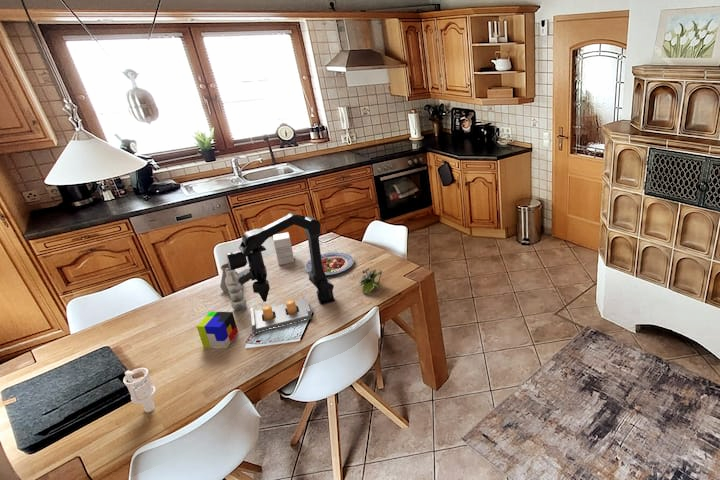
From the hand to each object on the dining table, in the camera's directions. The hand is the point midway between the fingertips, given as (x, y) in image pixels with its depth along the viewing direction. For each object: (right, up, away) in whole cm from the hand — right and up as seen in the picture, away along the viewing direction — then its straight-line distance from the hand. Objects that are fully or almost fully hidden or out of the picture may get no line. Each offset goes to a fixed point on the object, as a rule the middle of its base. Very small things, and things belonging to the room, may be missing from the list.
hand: (264, 296), depth 165 cm
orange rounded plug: (+1, -11, +5) cm, 12 cm away
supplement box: (-2, +12, +58) cm, 59 cm away
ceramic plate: (+24, +9, +46) cm, 52 cm away
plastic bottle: (-15, -8, +16) cm, 23 cm away
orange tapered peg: (+11, -9, +7) cm, 16 cm away
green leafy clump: (+45, +1, +20) cm, 50 cm away
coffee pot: (-21, +1, +38) cm, 43 cm away
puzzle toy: (-16, -17, -4) cm, 24 cm away
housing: (+6, -10, +6) cm, 13 cm away
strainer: (-29, -32, -35) cm, 55 cm away
